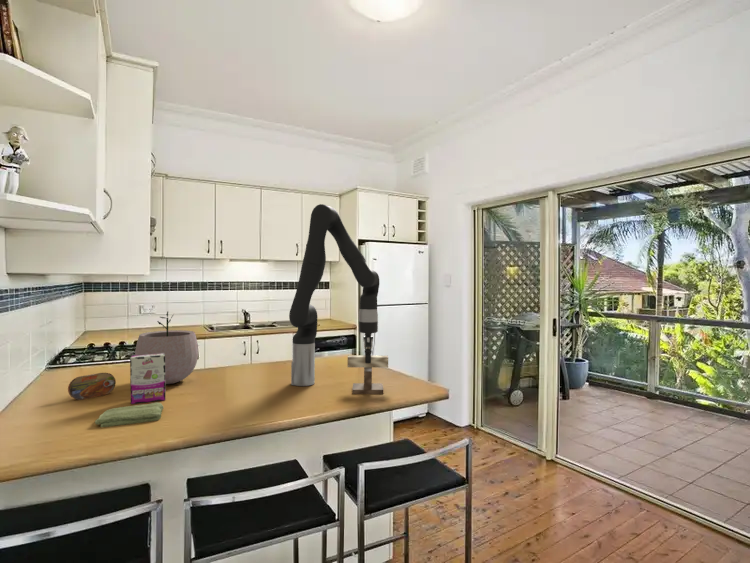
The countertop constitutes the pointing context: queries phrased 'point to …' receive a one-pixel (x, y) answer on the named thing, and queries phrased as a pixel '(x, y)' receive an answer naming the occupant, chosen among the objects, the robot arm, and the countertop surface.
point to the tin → (91, 386)
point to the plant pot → (171, 351)
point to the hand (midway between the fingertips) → (368, 361)
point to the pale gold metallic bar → (375, 362)
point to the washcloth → (130, 415)
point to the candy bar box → (147, 378)
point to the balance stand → (367, 384)
